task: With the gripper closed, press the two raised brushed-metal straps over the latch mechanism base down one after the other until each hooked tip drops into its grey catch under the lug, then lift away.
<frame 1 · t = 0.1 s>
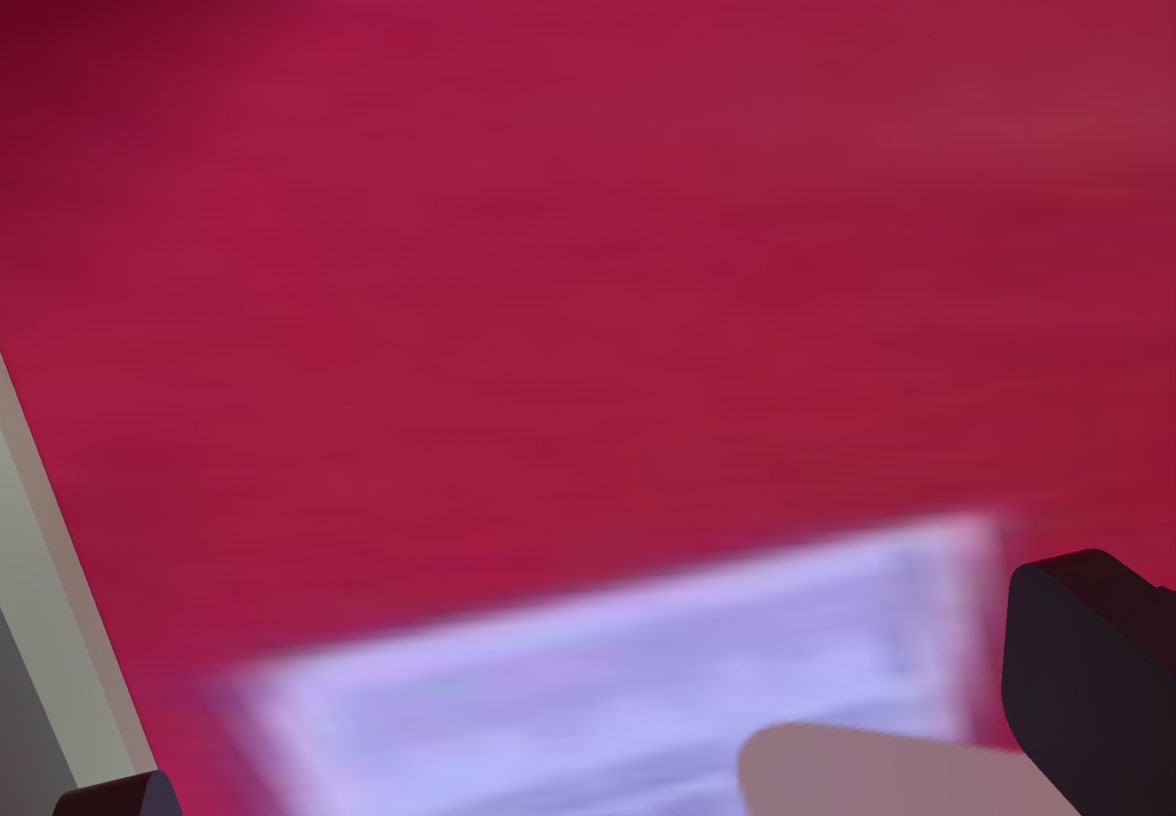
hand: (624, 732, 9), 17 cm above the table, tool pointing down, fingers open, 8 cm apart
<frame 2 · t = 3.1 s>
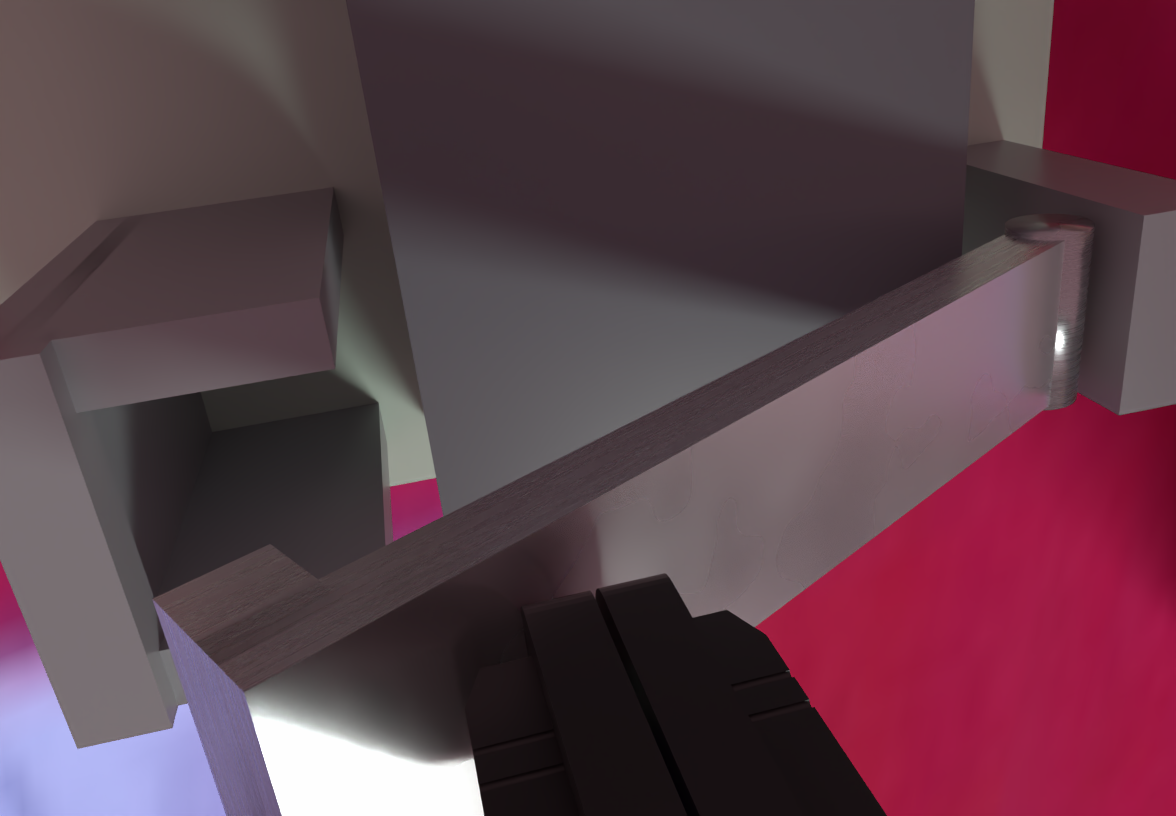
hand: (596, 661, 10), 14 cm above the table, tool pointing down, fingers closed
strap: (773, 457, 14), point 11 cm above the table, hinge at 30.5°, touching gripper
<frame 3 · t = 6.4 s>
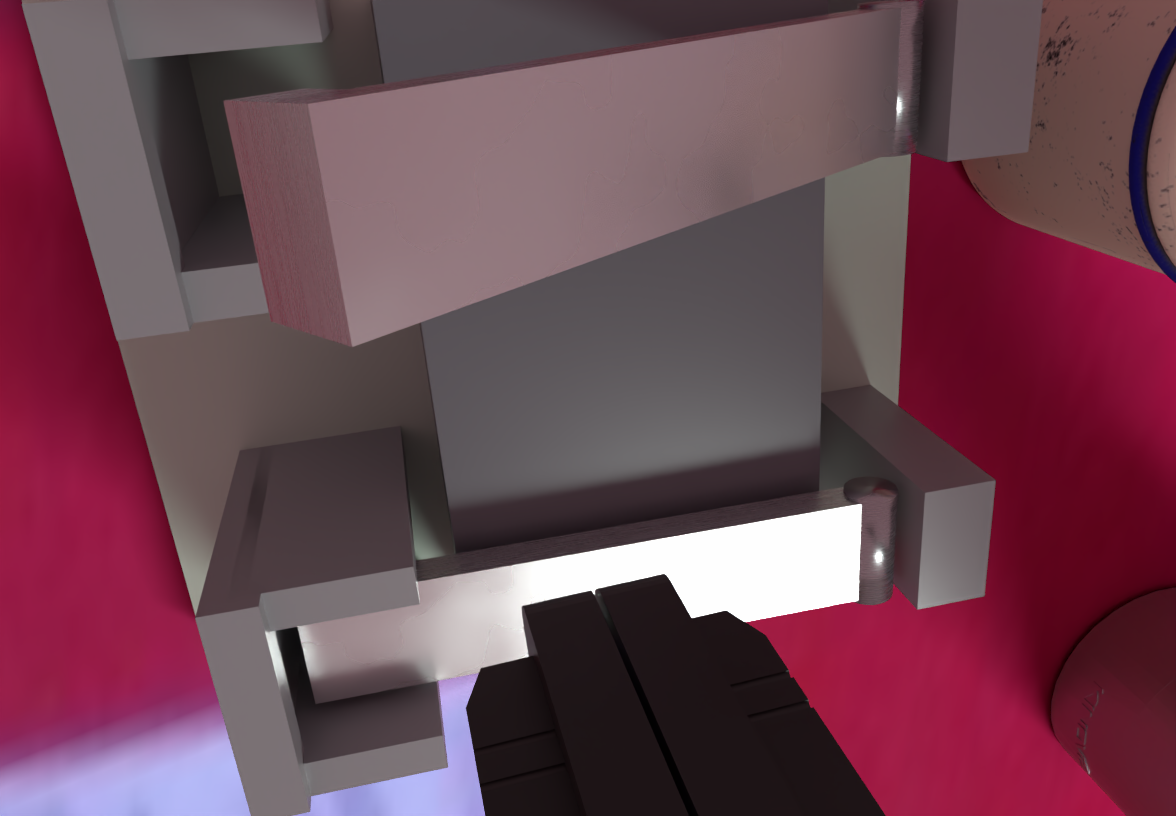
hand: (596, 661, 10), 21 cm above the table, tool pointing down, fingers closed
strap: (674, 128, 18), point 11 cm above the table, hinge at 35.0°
latch mechanism base: (531, 290, 30), on the table
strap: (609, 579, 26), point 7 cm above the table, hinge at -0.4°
teacup with lid: (1064, 45, 31), on the table
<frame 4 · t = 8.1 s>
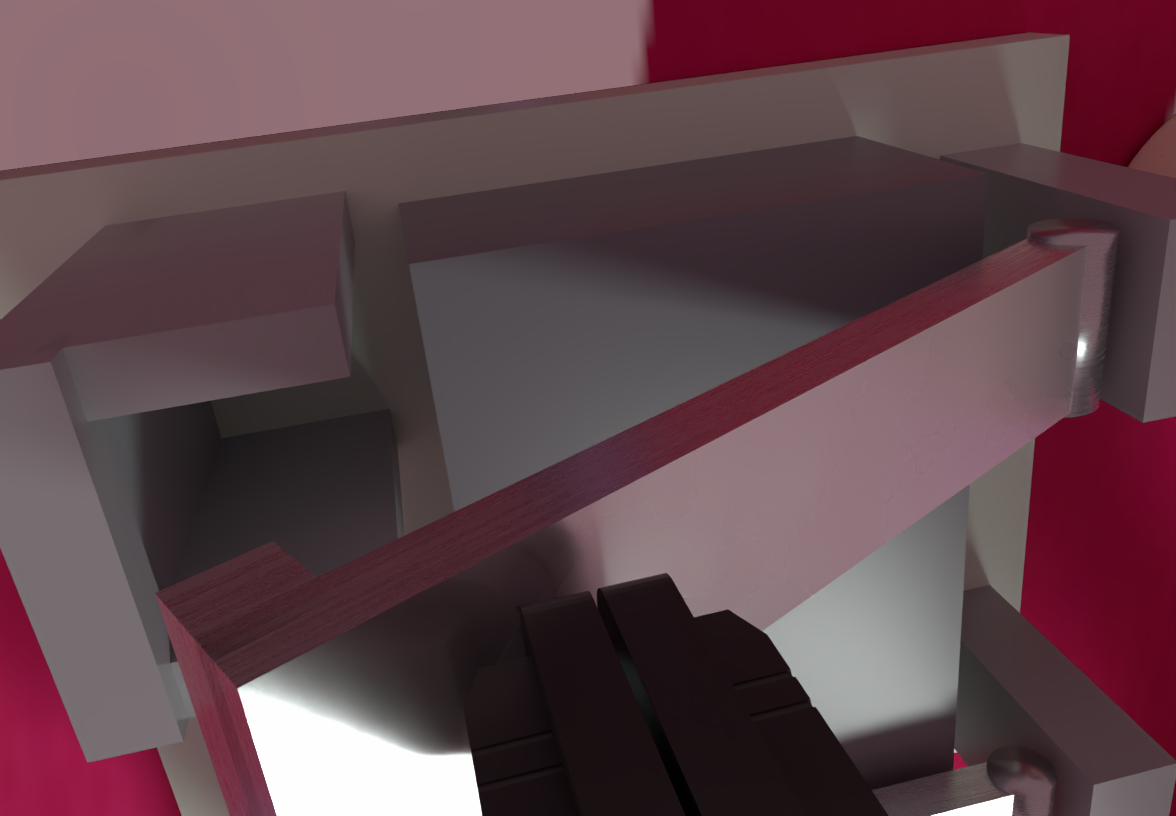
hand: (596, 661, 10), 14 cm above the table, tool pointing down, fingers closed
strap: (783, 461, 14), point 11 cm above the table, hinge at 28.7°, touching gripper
latch mechanism base: (593, 500, 25), on the table
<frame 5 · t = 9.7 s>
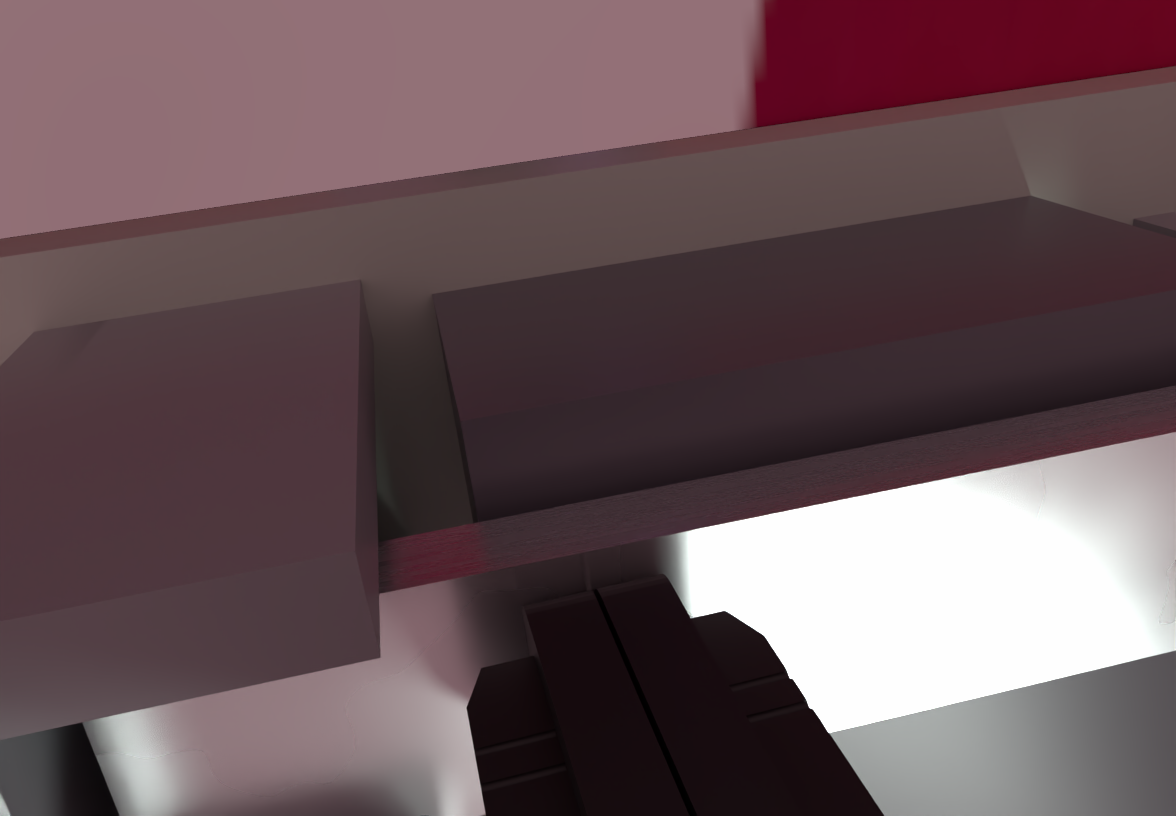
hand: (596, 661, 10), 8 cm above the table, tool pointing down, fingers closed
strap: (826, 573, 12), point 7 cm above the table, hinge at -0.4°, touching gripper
latch mechanism base: (669, 642, 20), on the table
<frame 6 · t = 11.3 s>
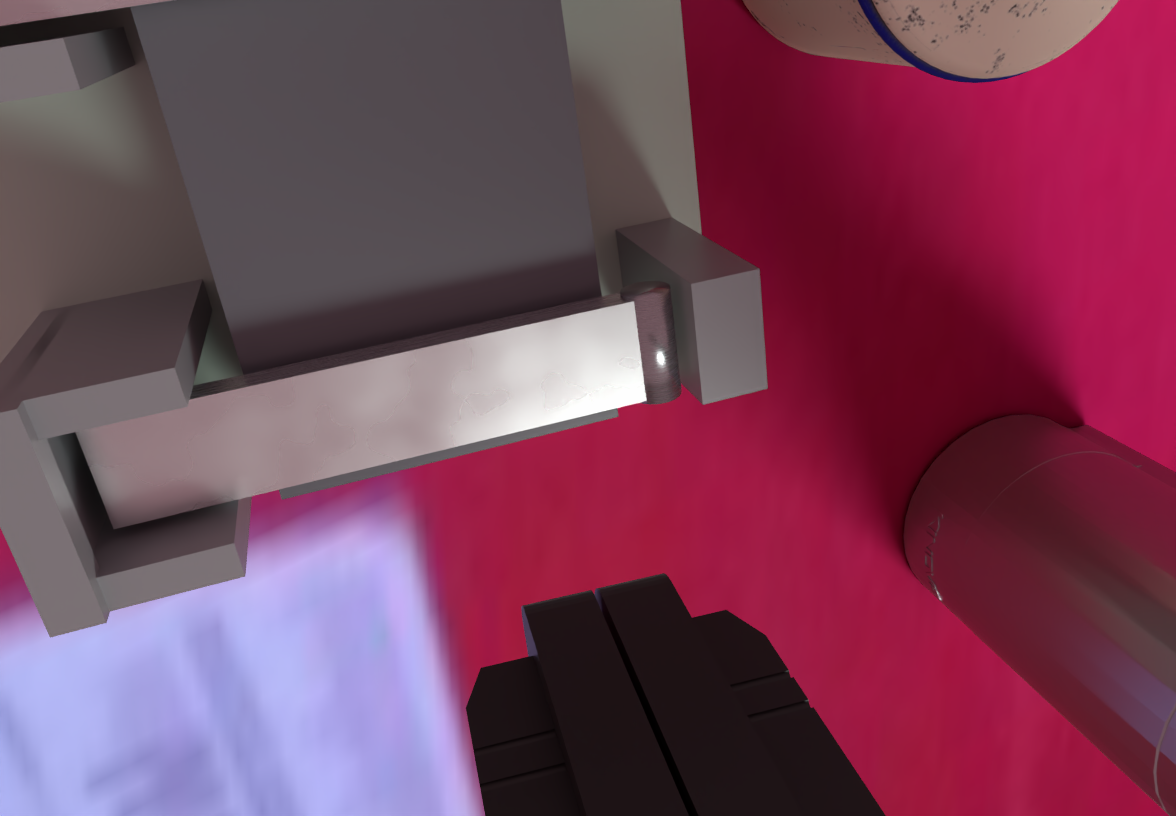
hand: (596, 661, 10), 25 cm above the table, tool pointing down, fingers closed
latch mechanism base: (325, 141, 31), on the table
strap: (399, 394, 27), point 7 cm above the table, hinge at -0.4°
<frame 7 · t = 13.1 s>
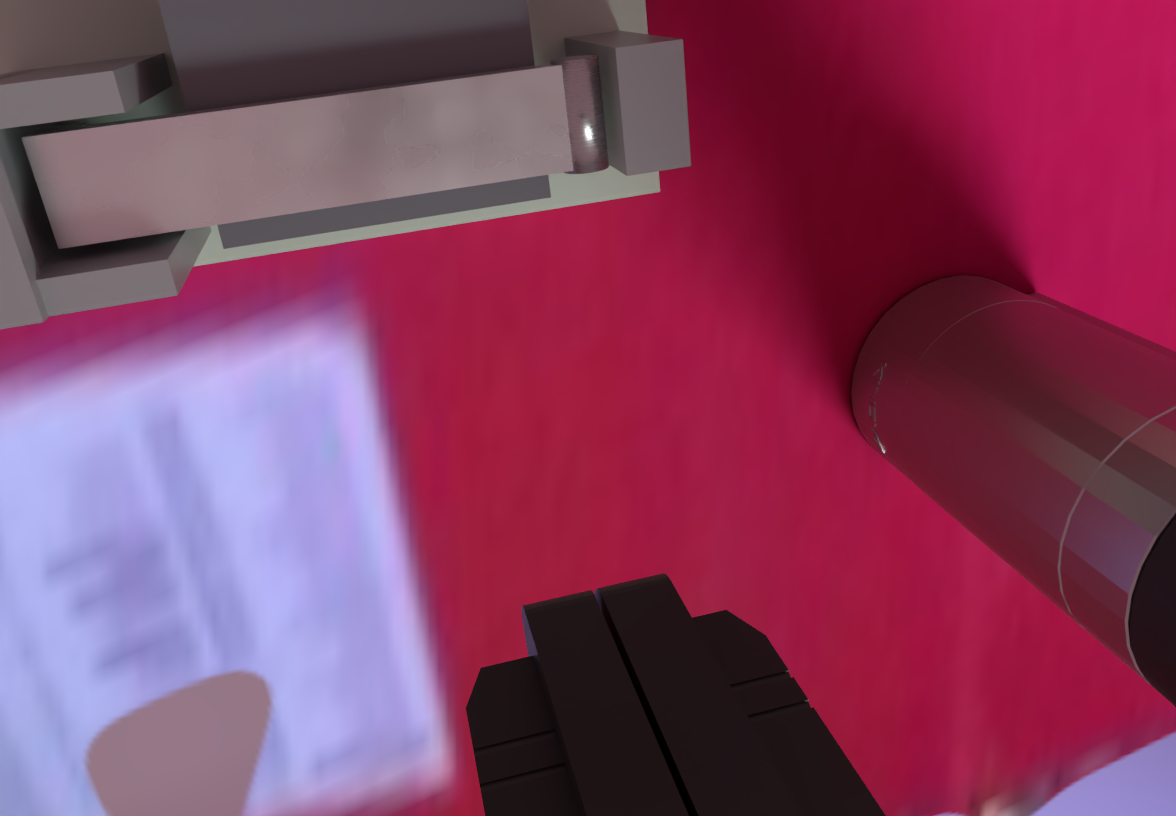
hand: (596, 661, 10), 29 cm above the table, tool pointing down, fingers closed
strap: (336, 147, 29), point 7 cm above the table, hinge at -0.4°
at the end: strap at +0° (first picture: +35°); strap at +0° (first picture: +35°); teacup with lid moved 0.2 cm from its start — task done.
